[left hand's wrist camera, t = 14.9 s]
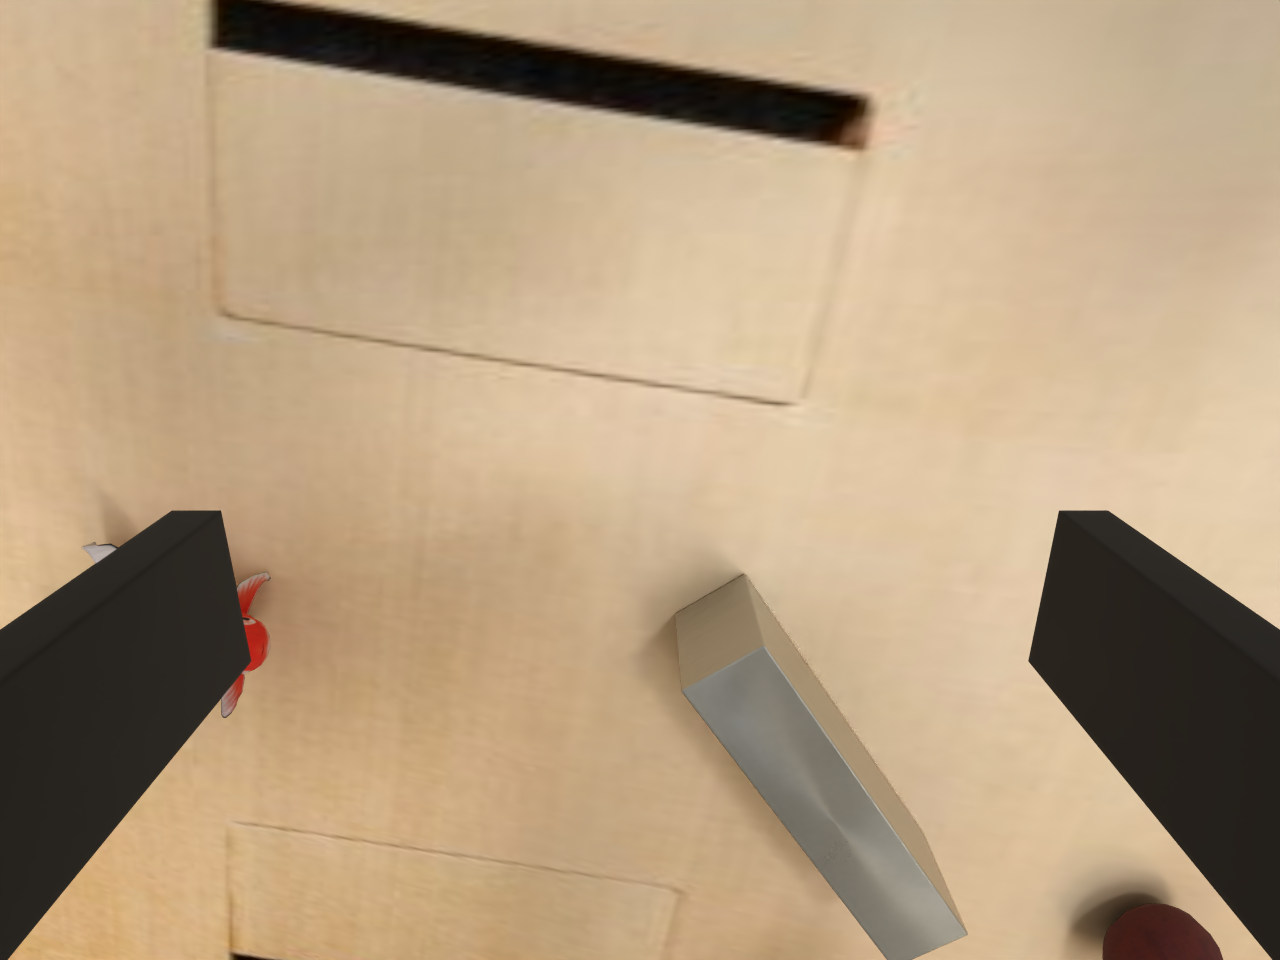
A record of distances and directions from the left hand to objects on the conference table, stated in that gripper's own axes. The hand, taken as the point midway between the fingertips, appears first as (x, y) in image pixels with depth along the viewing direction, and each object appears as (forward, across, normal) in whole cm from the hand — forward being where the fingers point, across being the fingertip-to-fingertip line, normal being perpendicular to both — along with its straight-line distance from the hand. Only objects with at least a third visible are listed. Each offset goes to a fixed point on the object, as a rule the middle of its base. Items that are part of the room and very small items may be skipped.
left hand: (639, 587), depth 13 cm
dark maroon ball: (+31, +36, -44) cm, 65 cm away
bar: (+31, +11, -28) cm, 43 cm away
